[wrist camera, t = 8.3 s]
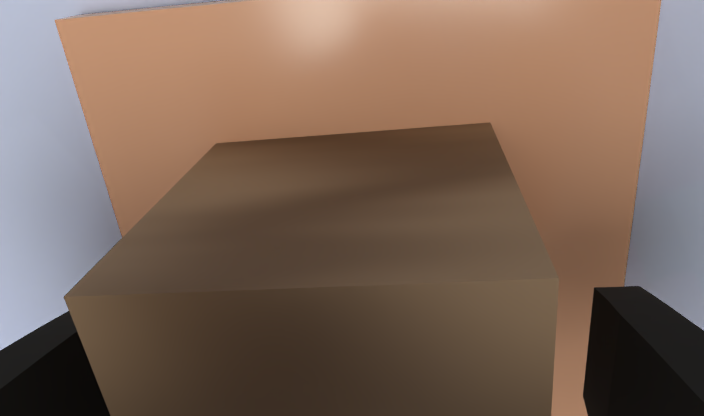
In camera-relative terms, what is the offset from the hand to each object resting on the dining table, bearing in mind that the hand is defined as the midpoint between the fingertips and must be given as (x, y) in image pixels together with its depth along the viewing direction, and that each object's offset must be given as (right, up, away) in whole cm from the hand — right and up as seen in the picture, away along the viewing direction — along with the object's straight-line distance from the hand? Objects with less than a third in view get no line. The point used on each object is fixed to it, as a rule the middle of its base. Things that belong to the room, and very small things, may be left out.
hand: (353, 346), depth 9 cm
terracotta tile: (0, +2, +3) cm, 3 cm away
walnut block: (0, +1, +2) cm, 3 cm away
